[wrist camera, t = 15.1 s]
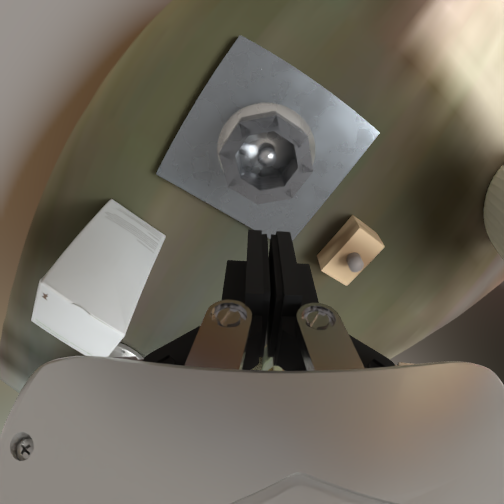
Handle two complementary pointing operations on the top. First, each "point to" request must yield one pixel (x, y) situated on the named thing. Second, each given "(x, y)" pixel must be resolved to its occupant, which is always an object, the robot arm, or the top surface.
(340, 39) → the top surface
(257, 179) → the plate ring
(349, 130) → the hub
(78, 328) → the skincare box
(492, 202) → the canister
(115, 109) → the top surface
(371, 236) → the stand
